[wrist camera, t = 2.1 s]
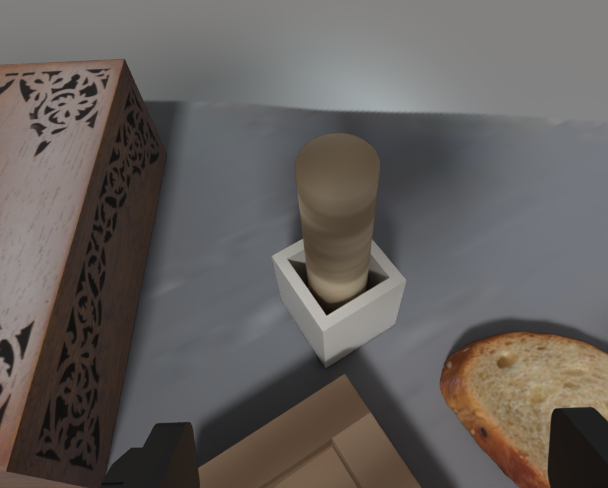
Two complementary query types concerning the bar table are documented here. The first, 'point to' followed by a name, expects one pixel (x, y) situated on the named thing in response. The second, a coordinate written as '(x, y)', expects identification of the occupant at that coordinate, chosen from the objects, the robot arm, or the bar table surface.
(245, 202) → the bar table surface
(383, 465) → the socket block
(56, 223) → the tissue box cover
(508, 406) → the bread slice
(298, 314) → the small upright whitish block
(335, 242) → the dowel
